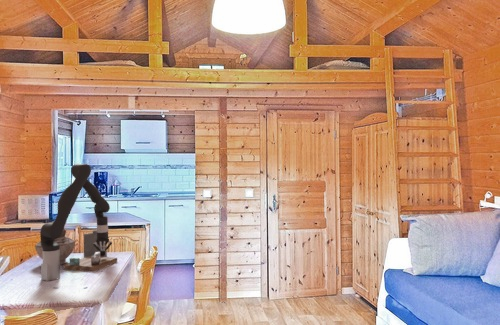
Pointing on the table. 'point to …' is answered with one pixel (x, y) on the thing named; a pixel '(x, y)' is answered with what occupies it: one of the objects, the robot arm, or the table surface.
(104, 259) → the lock board
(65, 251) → the ceramic pot
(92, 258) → the bar
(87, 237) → the hip flask
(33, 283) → the table surface
